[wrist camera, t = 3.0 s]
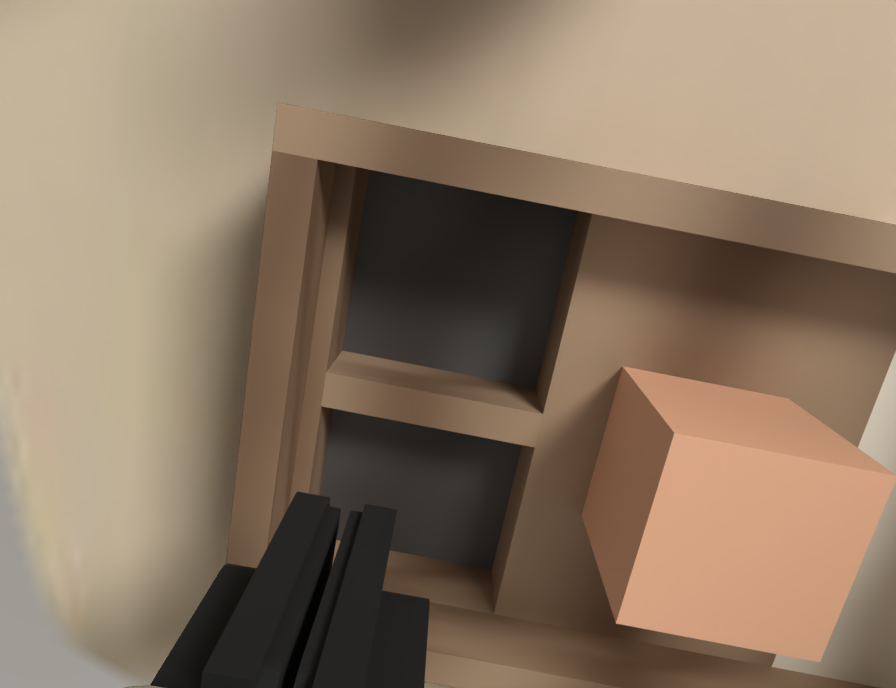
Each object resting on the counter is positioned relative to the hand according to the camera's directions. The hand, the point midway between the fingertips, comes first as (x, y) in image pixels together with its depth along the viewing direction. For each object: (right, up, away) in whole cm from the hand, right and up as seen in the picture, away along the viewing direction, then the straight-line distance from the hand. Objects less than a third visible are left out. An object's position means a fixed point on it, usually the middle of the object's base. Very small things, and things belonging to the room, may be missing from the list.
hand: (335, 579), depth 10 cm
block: (+8, +1, +7) cm, 11 cm away
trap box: (+8, +1, +9) cm, 13 cm away
